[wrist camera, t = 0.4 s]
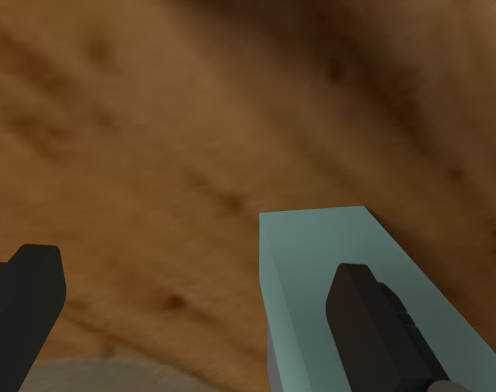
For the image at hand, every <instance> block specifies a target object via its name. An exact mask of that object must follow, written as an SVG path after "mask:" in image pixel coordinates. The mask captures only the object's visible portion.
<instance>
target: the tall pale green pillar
mask: <svg viewBox="0 0 496 392" xmlns="http://www.w3.org/2000/svg"><path fill="white" fill-rule="evenodd" d="M340 263H351V264H365V265H367V266H368V267H369V268H370V270H371V272H372V273H373V275H374V277H375V278H376V280H377V282H382V283H384V284H385V285H387V286H388V287H389V288H390V289H391V290H392V291H393V292H394V293H395V294H396V295H397V296H398V297H399V298H400V300H401V302H402V303H403V305H404V306H405V308H406V310H407V314H410V316H411V318H412V319H413V321H414V322H415V326H416V327H418V329H419V330H420V332H421V334H422V335H423V337H424V338H425V340H426V342H427V343H428V345H429V346H430V348H431V350H432V351H433V353H434V354H435V356H436V358H437V359H438V361H439V362H440V364H441V366H442V367H443V369H444V370H445V372H446V373H447V375H448V377H449V378H450V380H451V381H452V382H455V383H458V384H460V385H462V386H464V387H466V388H467V389H469V390H471V391H472V392H496V353H495V352H494V351H493V350H492V349H491V348H490V347H489V346H488V344H487V343H486V342H485V341H484V340H483V339H482V338H481V337H480V335H479V334H478V333H477V332H476V331H475V330H474V329H473V328H472V327H471V325H470V324H469V323H468V322H467V321H466V320H465V319H464V318H463V316H462V315H461V314H460V313H459V312H458V311H457V310H456V309H455V307H454V306H453V305H452V304H451V303H450V302H449V301H448V300H447V299H446V297H445V296H444V295H443V294H442V293H441V292H440V291H439V290H438V288H437V287H436V286H435V285H434V284H433V283H432V282H431V281H430V280H429V278H428V277H427V276H426V275H425V274H424V273H423V272H422V271H421V269H420V268H419V267H418V266H417V265H416V264H415V263H414V262H413V260H412V259H411V258H410V257H409V256H408V255H407V254H406V253H405V252H404V250H403V249H402V248H401V247H400V246H399V245H398V244H397V243H396V241H395V240H394V239H393V238H392V237H391V236H390V235H389V234H388V233H387V231H386V230H385V229H384V228H383V227H382V226H381V225H380V224H379V222H378V221H377V220H376V219H375V218H374V217H373V216H372V215H371V213H370V212H369V211H368V210H367V209H366V208H365V207H364V206H350V207H336V208H321V209H307V210H292V211H278V212H263V213H260V232H259V281H260V286H261V290H262V295H263V300H264V304H265V309H266V313H267V318H268V323H269V327H270V332H271V336H272V341H273V346H274V350H275V355H276V359H277V364H278V369H279V373H280V378H281V382H282V387H283V392H352V391H351V388H350V385H349V382H348V379H347V376H346V373H345V371H344V368H343V365H342V362H341V359H340V356H339V353H338V350H337V347H336V345H335V342H334V339H333V336H332V333H331V330H330V327H329V324H328V321H327V318H326V299H327V296H328V293H329V290H330V287H331V284H332V281H333V279H334V276H335V273H336V270H337V267H338V265H339V264H340Z"/></svg>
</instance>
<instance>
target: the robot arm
mask: <svg viewBox="0 0 496 392" xmlns="http://www.w3.org/2000/svg"><path fill="white" fill-rule="evenodd" d="M65 298H66V283H65V278H64V272H63V266H62V261H61V255H60V250H59V248H58V247H57V246H53V245H36V244H24V245H23V246H21V247H20V248H19V249H18V251H17V252H16V253H15V254H14V255H13V256H12V258H11V259H10V260H9V261H8V262H7V263H5V262H0V392H18V391H19V389H20V387H21V385H22V383H23V381H24V379H25V378H26V376H27V374H28V372H29V370H30V368H31V366H32V365H33V363H34V361H35V359H36V357H37V355H38V353H39V352H40V350H41V348H42V346H43V344H44V342H45V340H46V338H47V337H48V335H49V333H50V331H51V329H52V327H53V325H54V324H55V322H56V320H57V318H58V316H59V314H60V312H61V310H62V308H63V306H64V302H65ZM326 318H327V321H328V324H329V327H330V330H331V333H332V336H333V339H334V342H335V345H336V347H337V350H338V353H339V356H340V359H341V362H342V365H343V368H344V371H345V373H346V376H347V379H348V382H349V385H350V388H351V391H352V392H472V391H471V390H469V389H467V388H466V387H464V386H462V385H460V384H458V383H455V382H452V381H451V380H450V378H449V377H448V375H447V373H446V372H445V370H444V369H443V367H442V366H441V364H440V362H439V361H438V359H437V358H436V356H435V354H434V353H433V351H432V350H431V348H430V346H429V345H428V343H427V342H426V340H425V338H424V337H423V335H422V334H421V332H420V330H419V329H418V327H416V326H415V322H414V321H413V319H412V318H411V316H410V314H407V310H406V308H405V306H404V305H403V303H402V302H401V300H400V298H399V297H398V296H397V295H396V294H395V293H394V292H393V291H392V290H391V289H390V288H389V287H388V286H387V285H385V284H384V283H382V282H377V280H376V278H375V277H374V275H373V273H372V272H371V270H370V268H369V267H368V266H367V265H365V264H351V263H340V264H339V265H338V267H337V270H336V273H335V276H334V279H333V281H332V284H331V287H330V290H329V293H328V296H327V299H326Z"/></svg>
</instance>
